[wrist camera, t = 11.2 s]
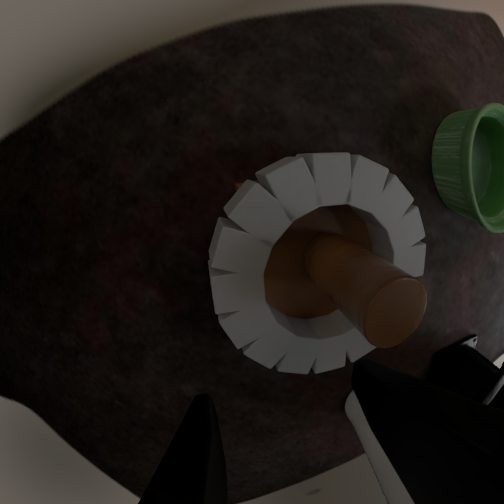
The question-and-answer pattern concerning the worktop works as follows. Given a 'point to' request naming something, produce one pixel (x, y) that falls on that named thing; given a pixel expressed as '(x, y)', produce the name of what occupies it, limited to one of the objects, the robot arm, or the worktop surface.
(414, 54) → the worktop surface
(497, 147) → the ramekin
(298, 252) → the wooden peg stand
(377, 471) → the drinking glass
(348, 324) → the segmented block ring
